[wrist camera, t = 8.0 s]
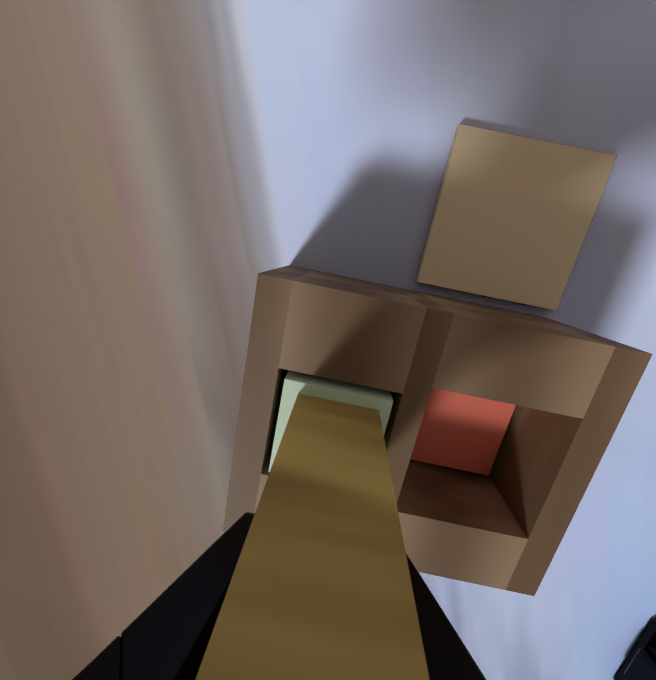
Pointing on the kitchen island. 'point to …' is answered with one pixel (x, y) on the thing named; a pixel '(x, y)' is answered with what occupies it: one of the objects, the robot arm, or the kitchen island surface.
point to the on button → (327, 390)
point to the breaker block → (411, 400)
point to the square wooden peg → (322, 562)
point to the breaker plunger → (461, 431)
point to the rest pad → (512, 216)
